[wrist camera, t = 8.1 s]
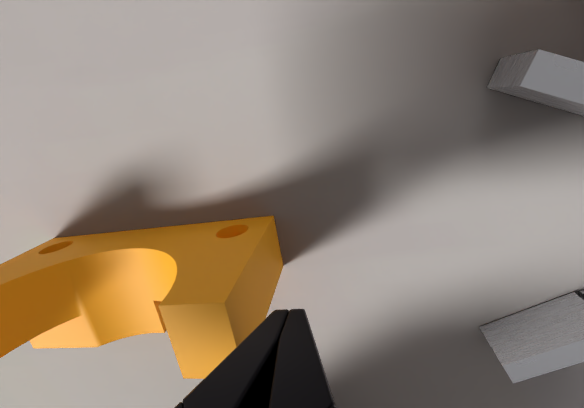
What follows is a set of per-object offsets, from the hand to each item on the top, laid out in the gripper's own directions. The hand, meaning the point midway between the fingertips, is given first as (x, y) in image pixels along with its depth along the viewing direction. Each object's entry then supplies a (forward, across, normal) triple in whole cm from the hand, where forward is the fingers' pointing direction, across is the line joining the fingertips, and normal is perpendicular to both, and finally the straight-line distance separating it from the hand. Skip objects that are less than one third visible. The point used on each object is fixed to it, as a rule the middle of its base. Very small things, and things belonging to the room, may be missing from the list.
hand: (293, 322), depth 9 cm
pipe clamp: (+6, +8, +1) cm, 10 cm away
